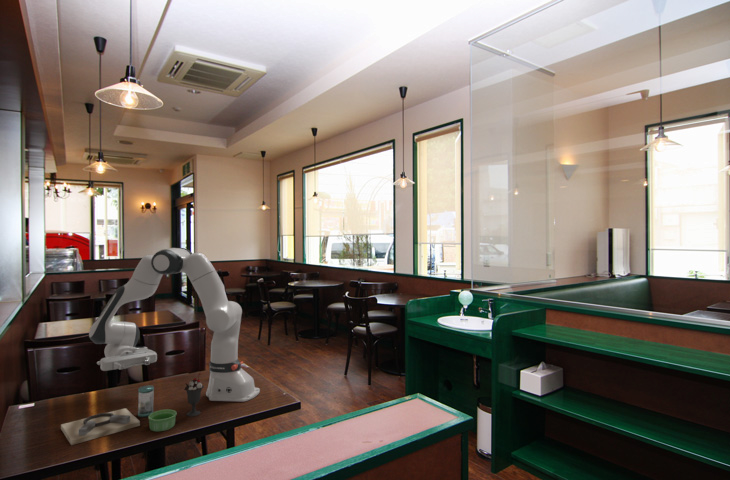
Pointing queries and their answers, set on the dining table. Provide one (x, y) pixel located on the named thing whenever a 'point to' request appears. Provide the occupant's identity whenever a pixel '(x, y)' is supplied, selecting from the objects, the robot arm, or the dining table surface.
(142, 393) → the teal-capped glass jar
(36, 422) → the dining table surface
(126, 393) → the dining table surface
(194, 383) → the sundae
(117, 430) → the board
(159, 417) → the ramekin
